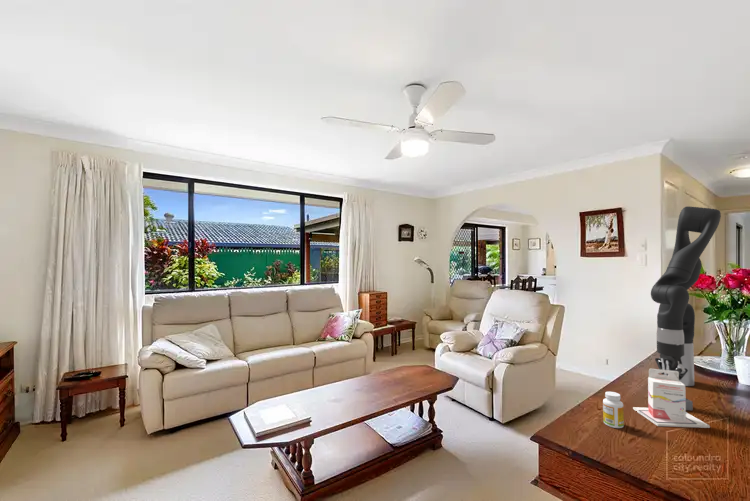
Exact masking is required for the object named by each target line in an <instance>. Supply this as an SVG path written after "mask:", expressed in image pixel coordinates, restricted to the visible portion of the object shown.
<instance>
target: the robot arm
mask: <svg viewBox="0 0 750 501" xmlns="http://www.w3.org/2000/svg"><path fill="white" fill-rule="evenodd" d="M721 214H722V213H721V211H720V210H719V209H716V208H711V207H710V208H709V207H702V206H701V207H699V206H689V205H688V206H685V207H683V208H682V209H681V210H680V212H679V216H678V218H677V225H676V227H677V228H676V233H675V242H674V243H675V244H674V247H673V252H672V256H671V258H670V260H669V262H668V266H667V267H666V269H665V271H664V273H662V275H661V276H660V278H659V279H658V280H657V281H656V282H655V283H654V284H653V286H652V288H651V290H650V297H651V300H652V301H653V302H655V303H657V304H659V308H658V312H657V315H656V316H657V317H656V318H657V319H656V323H657V324H656V325H657V326H656V327H657V329H656V352H657V353H658V354H659V357H655V363H656V365H657V367H658V369H660V370H670V371H678V372H679V381H680V382H682V383H683V384H684V385H685V387H694V386H695V362H694V361H695V354H694V337H695V322H696V314H695V309H694V307H693V306H692V305H691V303H689V302H690V294H689V291H688V290H689V289H691V287H692V286H694V284H696V283H697V281H698V280H699V277H700V274H701V269H702V267H703V266H702V264H703V263H702V261H701V255H702V254H703V253H704V251H705V250H706V248H707V246H708V245H709V242H710V241H711V240H712V238H713V236H714V235H715V233H716V231H717V229H718V227H719V224H720V222H721V217H722V215H721ZM690 232H692V233H699V234H700V235H699V236H698V237H697V238H696V239H695V240H694V241H692V242H691V239H690ZM660 375H667V376H668V375H669V374H666V373H664V372H663V373H660Z"/></svg>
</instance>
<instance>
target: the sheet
mask: <svg viewBox="0 0 750 501" xmlns="http://www.w3.org/2000/svg"><path fill="white" fill-rule="evenodd" d="M632 409H633V410H634V411H635V412H636V411H637V412H636V413H638V414H639V415H641V416H643V417H644V418H646V419H647V420H648V421H649V422H651V423H653V424H654V425H655V426H657V427H675V428H676V427H677V428H678V427H679V428H698V429H699V428H702V429H703V428H704V429H710V428H711V426H710V424H708V423H706V422H704V421H702V420H701V419H699V418H698V417H695V416H693V415H692V414H690V413H688V412H687V411H686V422H681V421H675V420H668V419H661V418H654V417H653V416H652V415H651V414H650V412H649V411H648V407H643V406H642V407H638V406H637V407H635V406H633V407H632Z"/></svg>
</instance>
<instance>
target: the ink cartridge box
mask: <svg viewBox="0 0 750 501" xmlns="http://www.w3.org/2000/svg"><path fill="white" fill-rule="evenodd" d="M663 372H664V373H666V374H669V375H668V376H667V375H664V374H661V373H663ZM647 384H648V385H647V390H648V391H647V392H648V393H647V397H648V398H647V399H648V400H647V401H648V404H647V405H648V406H647V408H648V411H649V412H650V414H651V415H652V416H653V417H654V418H661V419H668V420H675V421H681V422H686V412H687V410H686V399H687V398H686V394H687V393H686V386H685V385H684V384H683V383H682V382H680V381H679V372H678V371H670V370H660V369H659V368H658V369H657V368H649V369H648V377H647Z"/></svg>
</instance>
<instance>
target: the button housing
mask: <svg viewBox="0 0 750 501" xmlns="http://www.w3.org/2000/svg"><path fill="white" fill-rule="evenodd" d="M693 407H694V405H693V400H690V399H688V398H686V411H693V410H694V409H693Z"/></svg>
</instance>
